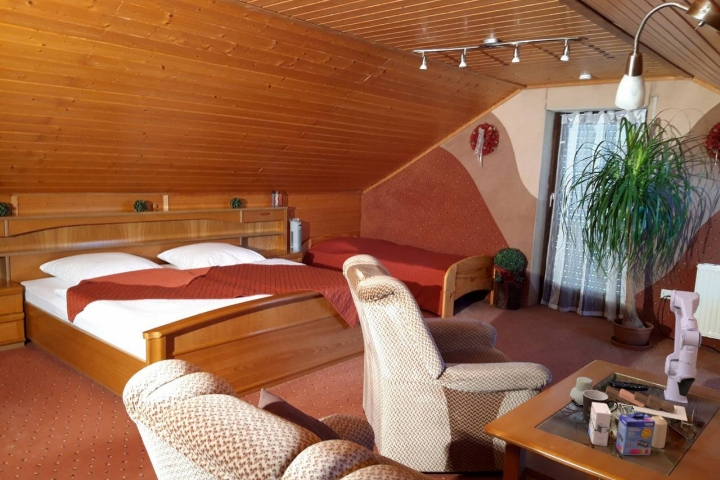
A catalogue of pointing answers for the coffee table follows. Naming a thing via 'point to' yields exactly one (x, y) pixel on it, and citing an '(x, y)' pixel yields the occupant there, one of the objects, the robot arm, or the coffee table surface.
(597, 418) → the ink box
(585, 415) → the coffee mug
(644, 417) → the ink cartridge box
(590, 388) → the air freshener
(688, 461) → the coffee table surface
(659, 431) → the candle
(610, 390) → the tile
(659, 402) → the tile
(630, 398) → the tile
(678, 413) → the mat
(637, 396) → the tile
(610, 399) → the tile
